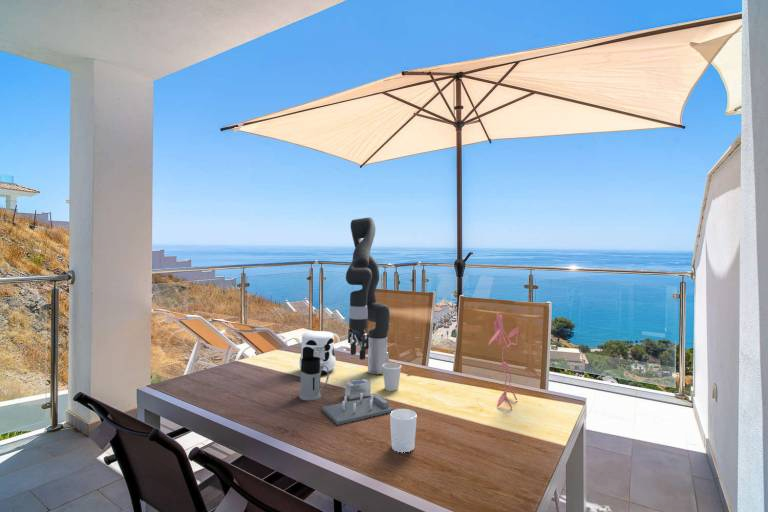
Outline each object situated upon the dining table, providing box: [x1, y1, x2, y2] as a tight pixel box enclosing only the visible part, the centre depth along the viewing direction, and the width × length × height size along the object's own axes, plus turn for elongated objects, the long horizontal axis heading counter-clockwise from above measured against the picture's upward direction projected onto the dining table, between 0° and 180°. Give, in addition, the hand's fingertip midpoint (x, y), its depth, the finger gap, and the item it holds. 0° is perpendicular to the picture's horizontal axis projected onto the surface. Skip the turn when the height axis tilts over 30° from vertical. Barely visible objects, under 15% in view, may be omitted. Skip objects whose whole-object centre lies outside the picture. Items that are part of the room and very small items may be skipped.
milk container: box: [299, 330, 337, 375], centre depth 186 cm, size 17×17×18 cm
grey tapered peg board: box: [321, 392, 395, 426], centre depth 140 cm, size 22×14×5 cm, turn 120°
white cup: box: [389, 408, 417, 454], centre depth 114 cm, size 8×8×10 cm
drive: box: [344, 378, 372, 401], centre depth 155 cm, size 9×5×6 cm, turn 119°
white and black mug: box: [298, 357, 330, 401], centre depth 152 cm, size 9×14×15 cm, turn 55°
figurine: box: [488, 312, 520, 409], centre depth 151 cm, size 15×26×35 cm, turn 149°
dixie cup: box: [382, 362, 403, 392], centre depth 163 cm, size 8×8×10 cm
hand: (357, 356), depth 155 cm, fingers open, 8 cm apart
